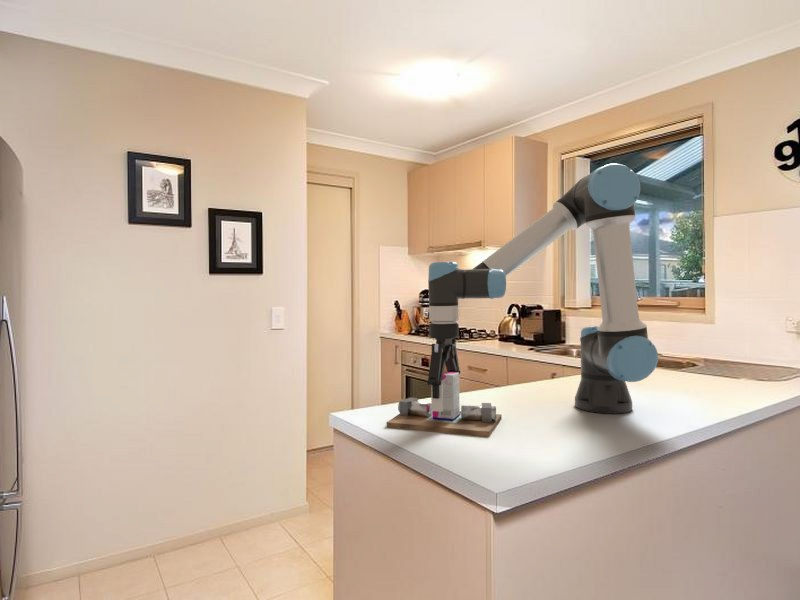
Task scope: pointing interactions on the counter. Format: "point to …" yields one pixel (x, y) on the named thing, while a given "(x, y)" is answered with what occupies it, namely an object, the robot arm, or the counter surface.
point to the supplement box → (449, 397)
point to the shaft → (414, 408)
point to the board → (445, 425)
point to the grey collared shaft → (479, 413)
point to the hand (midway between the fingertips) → (445, 404)
